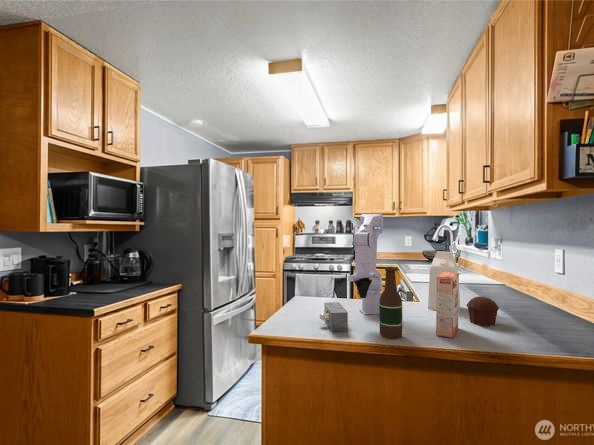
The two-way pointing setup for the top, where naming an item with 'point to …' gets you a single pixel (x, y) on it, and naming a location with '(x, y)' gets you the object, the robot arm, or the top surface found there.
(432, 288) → the milk
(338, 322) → the block
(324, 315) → the pin
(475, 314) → the muffin
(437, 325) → the cracker box
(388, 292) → the beer bottle
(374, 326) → the top surface
